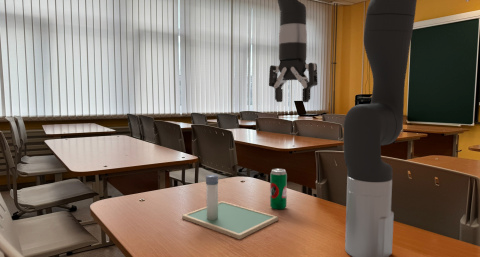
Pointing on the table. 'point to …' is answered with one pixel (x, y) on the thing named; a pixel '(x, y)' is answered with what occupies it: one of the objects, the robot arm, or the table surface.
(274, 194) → the soda can
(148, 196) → the table surface
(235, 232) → the slate
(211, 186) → the marker
